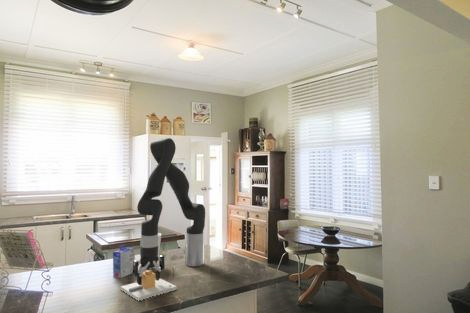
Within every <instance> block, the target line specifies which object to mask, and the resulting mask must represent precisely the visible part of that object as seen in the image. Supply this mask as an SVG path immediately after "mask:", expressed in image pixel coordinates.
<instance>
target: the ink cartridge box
mask: <svg viewBox="0 0 470 313" xmlns="http://www.w3.org/2000/svg"><path fill="white" fill-rule="evenodd" d="M118 246H119V249H118V250H116V251H113V252H112V260H113V261H112V270H113V272H112V273H113V276H112V277H114V278H117V279H122V278H125V277H126V276H128V275H131V274H132V272H133V261H134V260H135V259H136V258H135V250H136V249H135V248H134V247H128V246H127V247H126V245H125V243H124V244H120V245H118ZM135 261H136V260H135ZM132 275H133V274H132Z"/></svg>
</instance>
